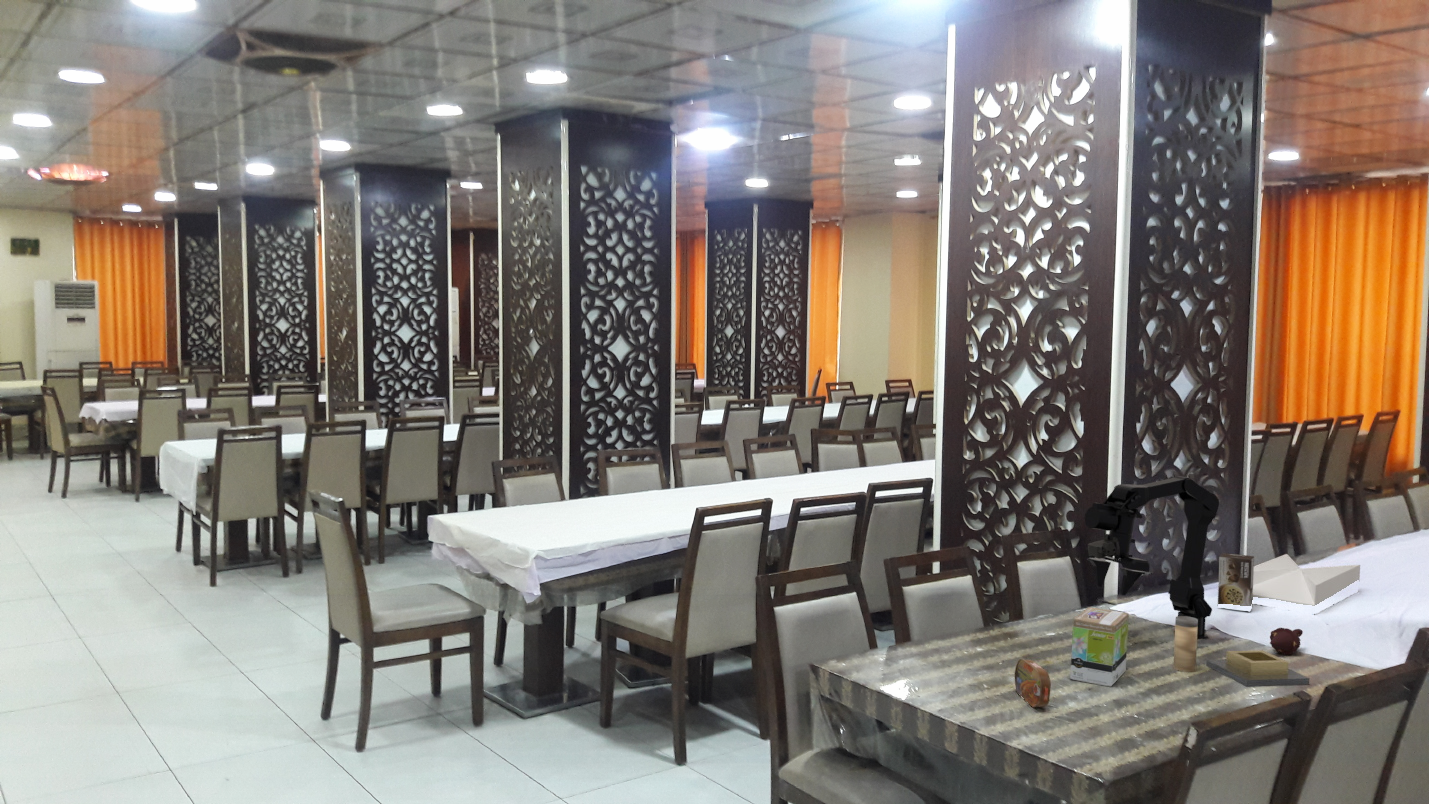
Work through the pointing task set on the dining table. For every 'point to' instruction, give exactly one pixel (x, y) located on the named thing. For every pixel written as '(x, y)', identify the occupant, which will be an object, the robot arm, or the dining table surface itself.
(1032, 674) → the tin
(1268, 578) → the building model
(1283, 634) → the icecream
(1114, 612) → the tea box
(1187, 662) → the tan cylinder
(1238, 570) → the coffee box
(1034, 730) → the dining table surface
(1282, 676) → the socket
